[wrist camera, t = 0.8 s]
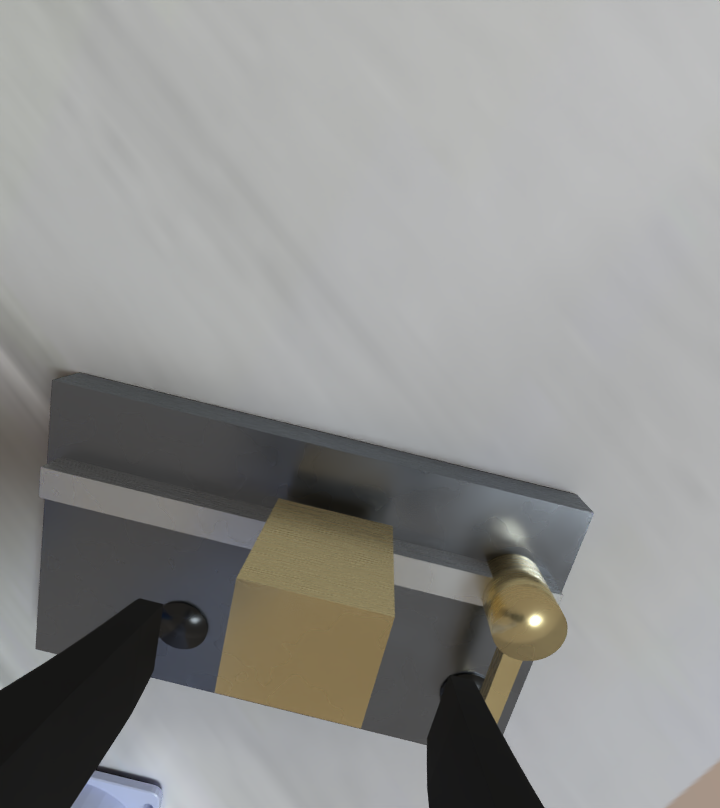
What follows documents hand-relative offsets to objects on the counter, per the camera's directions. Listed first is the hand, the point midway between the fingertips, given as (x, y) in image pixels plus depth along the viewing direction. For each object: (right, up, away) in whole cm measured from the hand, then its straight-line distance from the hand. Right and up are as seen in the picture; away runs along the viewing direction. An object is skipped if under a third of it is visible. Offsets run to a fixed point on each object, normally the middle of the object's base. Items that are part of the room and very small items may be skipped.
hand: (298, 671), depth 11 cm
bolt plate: (-1, 0, +8) cm, 8 cm away
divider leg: (0, -1, +6) cm, 6 cm away
